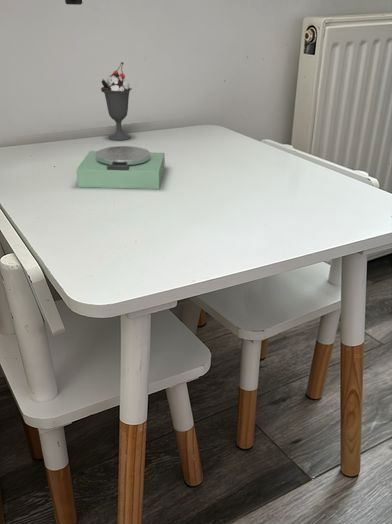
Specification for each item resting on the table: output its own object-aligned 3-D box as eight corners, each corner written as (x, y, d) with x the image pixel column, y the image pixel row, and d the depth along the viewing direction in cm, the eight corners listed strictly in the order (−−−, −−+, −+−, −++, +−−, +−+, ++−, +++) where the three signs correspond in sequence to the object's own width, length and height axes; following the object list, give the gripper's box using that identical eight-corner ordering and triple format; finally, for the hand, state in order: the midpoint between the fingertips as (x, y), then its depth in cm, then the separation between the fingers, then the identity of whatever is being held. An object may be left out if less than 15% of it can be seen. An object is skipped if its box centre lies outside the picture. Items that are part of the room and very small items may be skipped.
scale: (78, 187, 96) (75, 165, 94) (91, 166, 106) (89, 147, 104) (159, 189, 96) (158, 168, 94) (164, 168, 106) (164, 149, 104)
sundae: (137, 134, 127) (134, 61, 119) (129, 142, 122) (125, 65, 113) (109, 133, 128) (104, 60, 120) (100, 140, 123) (94, 64, 114)
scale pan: (91, 164, 96) (90, 159, 95) (101, 149, 104) (100, 145, 103) (147, 166, 96) (146, 161, 95) (152, 151, 103) (152, 146, 103)
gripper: (62, -102, 110) (71, 1, 119) (36, -113, 95) (49, 4, 105) (99, -101, 109) (106, 1, 119) (79, -112, 95) (89, 5, 105)
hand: (79, 3), depth 112 cm, fingers open, 9 cm apart
